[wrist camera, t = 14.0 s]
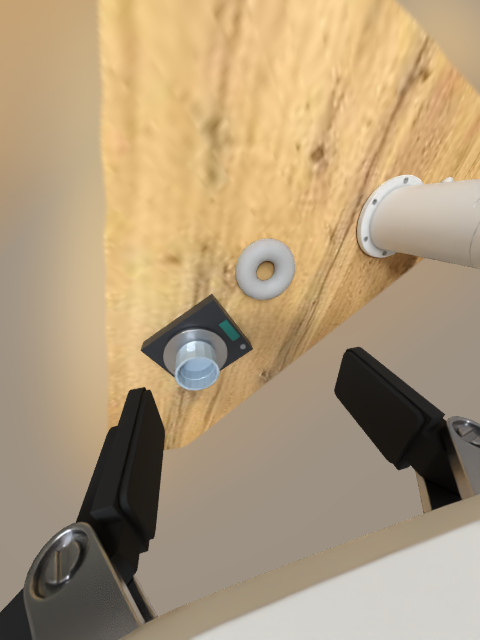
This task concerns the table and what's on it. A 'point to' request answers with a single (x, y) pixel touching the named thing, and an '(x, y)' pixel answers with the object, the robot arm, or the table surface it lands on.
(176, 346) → the scale pan
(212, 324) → the scale
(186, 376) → the light blue cup
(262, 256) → the donut
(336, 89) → the table surface
